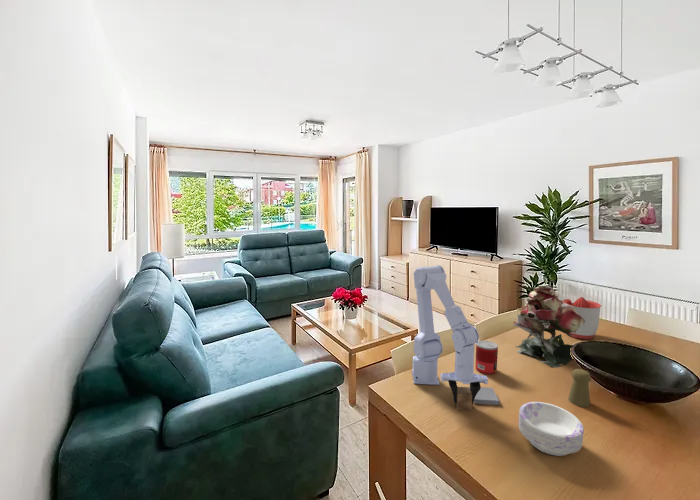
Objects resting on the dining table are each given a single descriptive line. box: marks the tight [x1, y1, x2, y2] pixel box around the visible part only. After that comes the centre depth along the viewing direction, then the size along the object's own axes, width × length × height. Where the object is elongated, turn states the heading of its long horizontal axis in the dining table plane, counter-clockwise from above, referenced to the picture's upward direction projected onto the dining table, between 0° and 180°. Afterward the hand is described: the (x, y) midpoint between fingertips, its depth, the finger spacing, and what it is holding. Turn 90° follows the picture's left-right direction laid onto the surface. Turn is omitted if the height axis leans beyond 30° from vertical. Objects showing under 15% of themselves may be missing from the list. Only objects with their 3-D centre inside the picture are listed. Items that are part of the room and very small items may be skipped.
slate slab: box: [468, 386, 500, 406], centre depth 113 cm, size 8×8×2 cm
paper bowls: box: [518, 401, 585, 457], centre depth 91 cm, size 15×15×8 cm
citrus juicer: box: [562, 296, 602, 340], centre depth 165 cm, size 16×17×20 cm
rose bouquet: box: [513, 285, 585, 368], centre depth 148 cm, size 26×29×30 cm
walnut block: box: [454, 386, 473, 411], centre depth 108 cm, size 4×4×6 cm
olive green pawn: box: [568, 368, 592, 408], centre depth 109 cm, size 6×6×11 cm
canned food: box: [475, 339, 499, 375], centre depth 131 cm, size 8×8×11 cm
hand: (463, 402), depth 108 cm, fingers closed on walnut block, 4 cm apart
